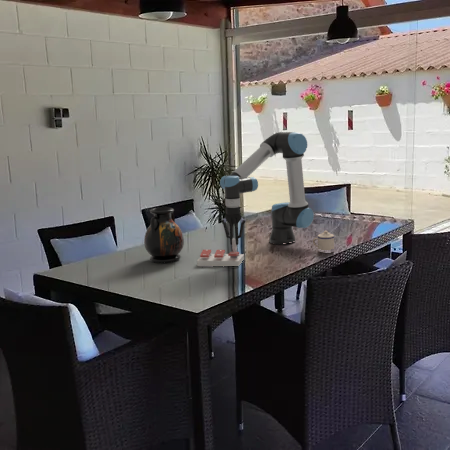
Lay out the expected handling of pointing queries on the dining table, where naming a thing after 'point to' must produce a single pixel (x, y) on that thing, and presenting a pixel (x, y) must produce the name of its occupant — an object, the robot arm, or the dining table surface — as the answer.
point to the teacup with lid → (325, 241)
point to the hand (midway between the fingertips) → (234, 250)
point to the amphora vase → (163, 237)
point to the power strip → (220, 261)
